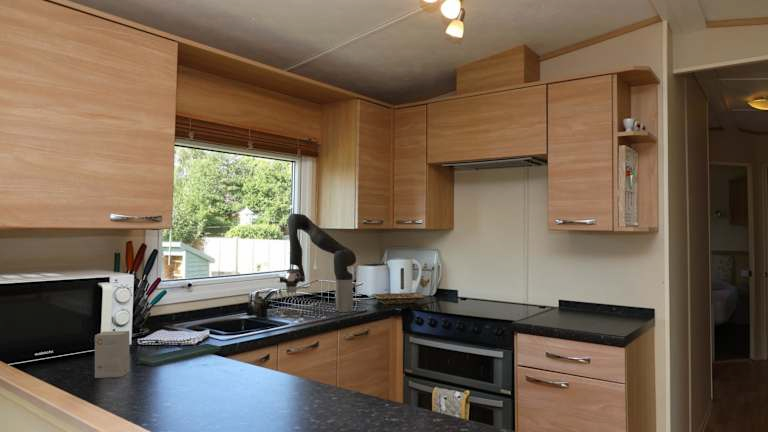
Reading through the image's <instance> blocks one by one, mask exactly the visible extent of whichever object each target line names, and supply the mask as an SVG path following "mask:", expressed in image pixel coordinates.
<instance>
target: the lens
mask: <svg viewBox="0 0 768 432" xmlns="http://www.w3.org/2000/svg"><path fill="white" fill-rule="evenodd" d="M285 274H286V275H285V277H286V283H285V291H286V293H288V294H289V293H297V290H298V289H297V286H298V284H297V283H296V278H297V273H296V272H287V271H286V273H285Z"/></svg>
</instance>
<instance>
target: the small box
mask: <svg viewBox="0 0 768 432" xmlns="http://www.w3.org/2000/svg"><path fill="white" fill-rule="evenodd" d="M130 345H131V343H130V330H118V331H117V330H115V331H114V330H113V331H111V330H110V331H102V332H100V333H97V334H95V335H94V378H95V379H102V378H122V377H124V376H125V375H127V374H129V372H131V371H130V362H131V360H130V359H131V358H130V357H131V356H130V355H131V354H130V352H131V351H130Z"/></svg>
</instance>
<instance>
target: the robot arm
mask: <svg viewBox="0 0 768 432" xmlns="http://www.w3.org/2000/svg"><path fill="white" fill-rule="evenodd" d="M287 227H288V236H289V237H288V238H289V247H290V248H289V249H290V250H289V251H290V252H289V253H290V255H289V263H290V265H293V266H297V268H295V269H294V268H289V269H288V270H287V271H286V273H287V272H296V273H297V278H296V283H297V285H298V284H299V283H304V282H306V275H305V270H304V266H303V248H302V245H301V243H300V239H299V235H298V230H299V231H302V232H305V233H306V234H307V235H308V236H309V239H310V240H311V242H312V244H314V245H315V246H316V247H317V248H319V249H321V250H322V251H325V252H327V253H329V254H332V255H333V270H334V271H333V272H334V275H335V312H337V311H338V312H339V313H349V312H354V292H353V291H354V288H353V287H354V286H353V285H354V284H353V283H354V282H353V281H354V277H353V273H350V272H349V271H348V270H349V269H348V267H352V266H354V265H355V264H356V262H357V261H356V260H357V257H356V254H355V253H354V251H352V250H351V249H350V248H348V247H346V246H345V245H343V244H341V243H340V242H339V241H338V240H337V239H335V238H333V237H332V236H331V235H330V234H328V233H327V232H326V231H325V230H323V229H322V228H320V227H319V226H317V225H316V224H315V223H314V222H313V221H312V220H311V219H310V218H309V217H308V216H307V215H305V214H303V213H292V214H290V215H289V216H288V219H287ZM279 282H280V283H284V284H286V276H285V277H283V276H280V277H279Z"/></svg>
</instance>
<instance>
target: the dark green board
mask: <svg viewBox="0 0 768 432" xmlns="http://www.w3.org/2000/svg"><path fill="white" fill-rule="evenodd" d="M221 348H222V346H221V345H215V344H211V343H204V344H203V343H202V344H199V345H193V346H188V347H185V348H181V349H176V350H171V351H167V352H162V353H161V352H160V353H157V354H153V355H148V356H144V357H140V358H139V361H140V362H141V364H142V365H147V366H150V367H153V368H155V367H158V366H163V365H168V364H173V363H175V362H180V361H185V360H189V359H193V358H194V359H195V358H198V357H203V356H207V355H212V354H216V353H218V352H219V351H220V349H221Z"/></svg>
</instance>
